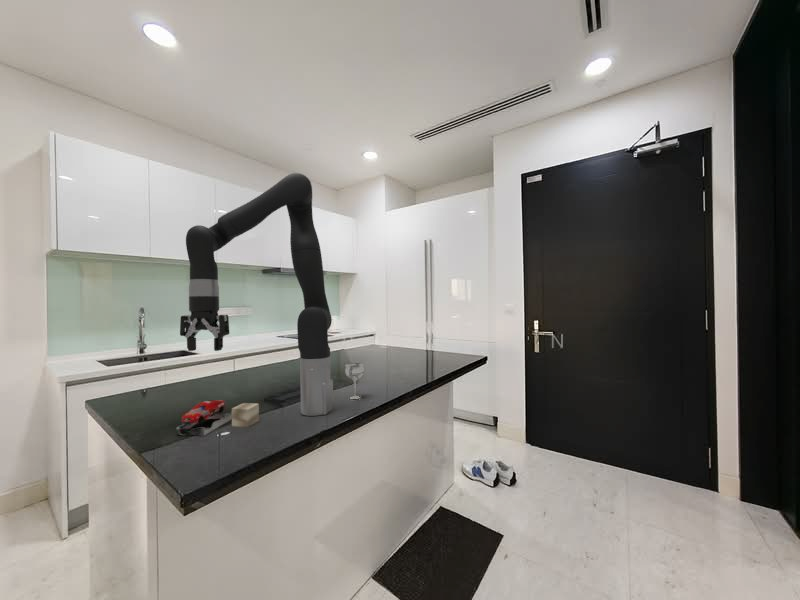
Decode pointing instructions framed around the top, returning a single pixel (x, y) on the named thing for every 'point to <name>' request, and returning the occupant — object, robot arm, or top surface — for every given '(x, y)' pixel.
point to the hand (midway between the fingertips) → (204, 350)
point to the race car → (203, 411)
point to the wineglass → (354, 374)
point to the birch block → (245, 414)
